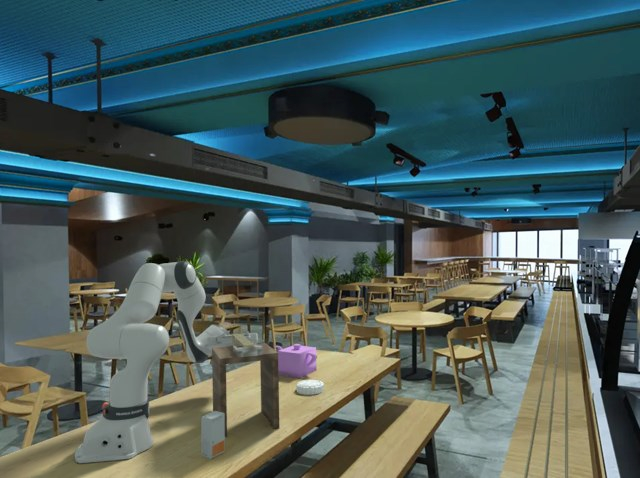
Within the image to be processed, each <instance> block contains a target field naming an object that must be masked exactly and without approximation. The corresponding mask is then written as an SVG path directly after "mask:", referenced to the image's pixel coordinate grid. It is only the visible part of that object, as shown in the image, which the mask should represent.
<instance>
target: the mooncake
mask: <svg viewBox="0 0 640 478" xmlns="http://www.w3.org/2000/svg"><path fill="white" fill-rule="evenodd" d="M295 388H296V392H297V394H299V395H300V394H301V395H303V396H305V395H307V396H310V395H312V396H314V395H319V394H321V393H323V392H324V391H325V384H324V382H323V381H321V380H318V379H304V380H301V381H297V383H296V387H295Z"/></svg>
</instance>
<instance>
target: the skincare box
mask: <svg viewBox="0 0 640 478" xmlns="http://www.w3.org/2000/svg"><path fill="white" fill-rule="evenodd" d="M200 419H201V421H200V424H201V425H200V426H201V430H200V431H201V433H200V434H201V436H200V437H201V442H200V444H201V445H200V446H201V447H200V448H201V449H200V450H201V452H200V453H201V457H204V458H207V459H210V460H212V459H213V458H215V457H217V456H219V455H221V454H223V453H225V451H226V447H225V444H226V442H225V441H226V437H225V413H222V412H218V411H214V412H213V411H211V412H209V413H207V414H205V415H203V416H201V418H200Z"/></svg>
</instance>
